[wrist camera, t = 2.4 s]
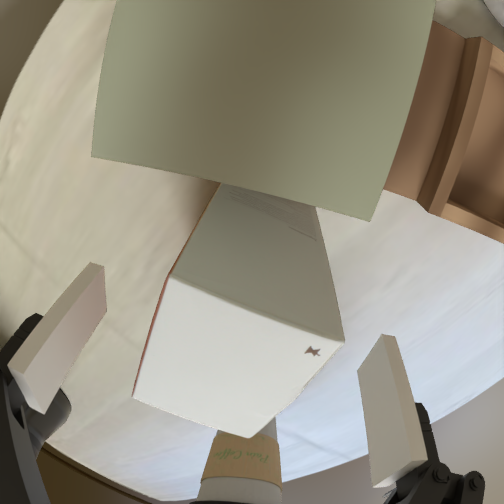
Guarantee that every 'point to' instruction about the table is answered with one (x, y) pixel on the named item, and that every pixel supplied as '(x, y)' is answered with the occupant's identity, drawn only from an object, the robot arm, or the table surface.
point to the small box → (242, 315)
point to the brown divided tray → (309, 103)
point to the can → (496, 9)
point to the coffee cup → (243, 469)
